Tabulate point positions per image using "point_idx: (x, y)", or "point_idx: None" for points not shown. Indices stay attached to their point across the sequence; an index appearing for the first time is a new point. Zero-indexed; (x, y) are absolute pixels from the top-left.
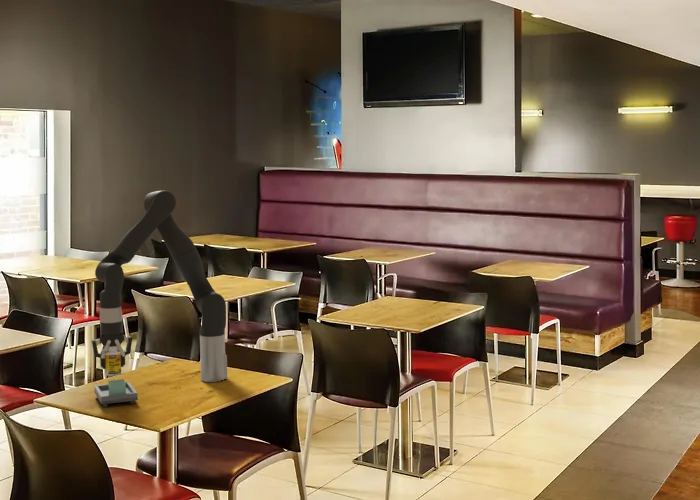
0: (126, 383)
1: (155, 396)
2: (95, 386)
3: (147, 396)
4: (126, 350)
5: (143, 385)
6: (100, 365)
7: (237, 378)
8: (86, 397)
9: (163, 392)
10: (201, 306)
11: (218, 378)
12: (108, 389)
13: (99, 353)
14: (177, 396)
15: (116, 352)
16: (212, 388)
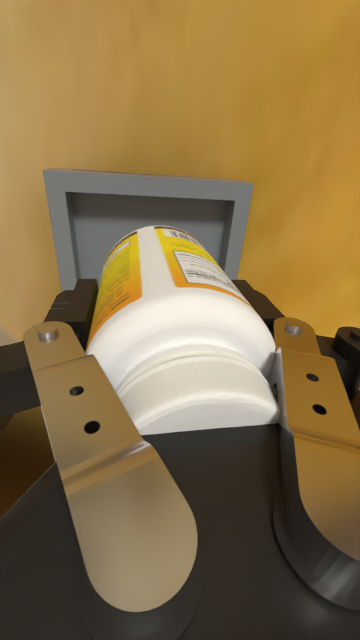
0: (232, 200)
1: (294, 290)
2: (51, 197)
3: (271, 277)
4: (343, 373)
5: (350, 49)
6: (58, 296)
7: None
8: (12, 154)
9: (344, 250)
10: None
11: None
12: (129, 205)
13: (12, 373)
14: (347, 320)
15: None
16: None
